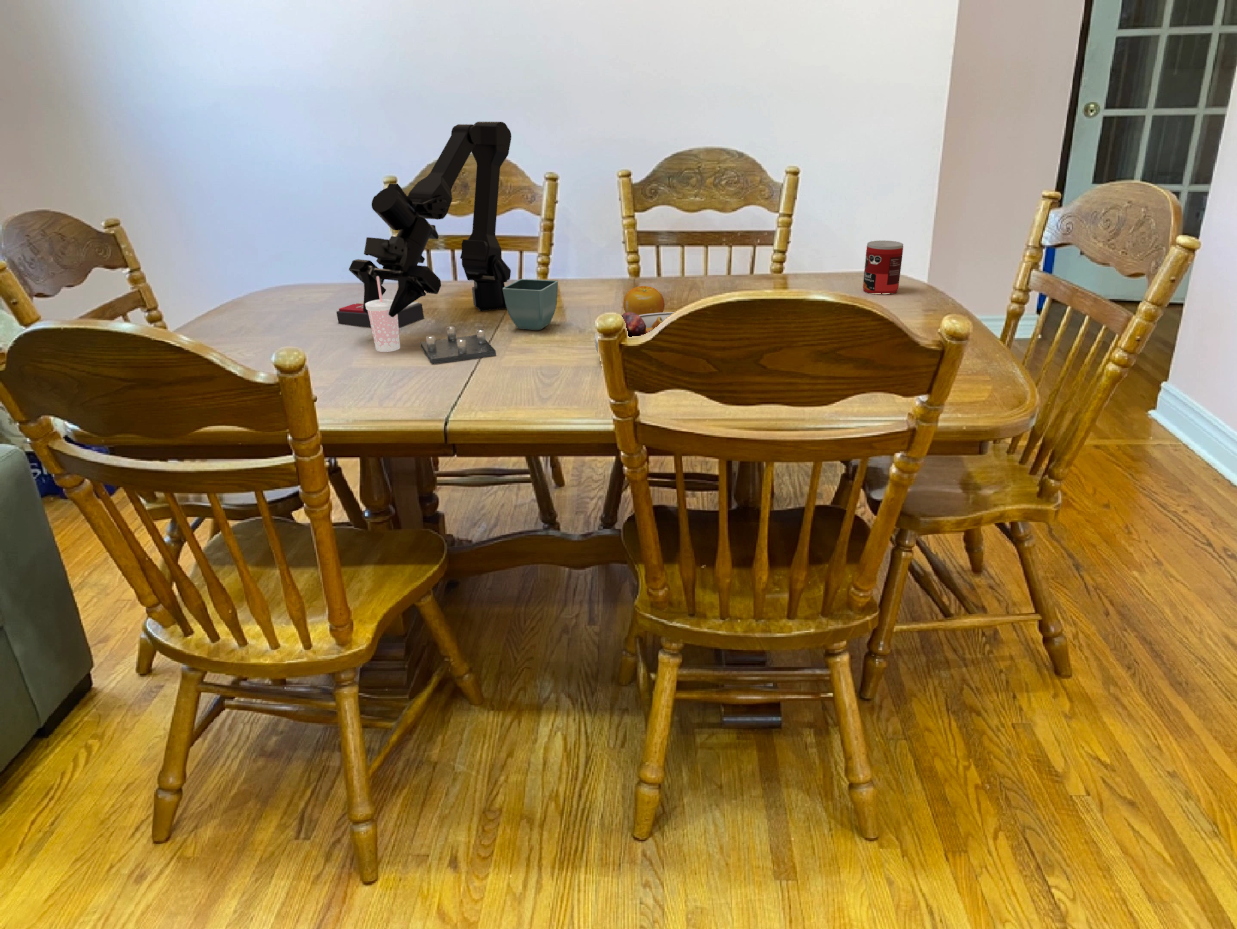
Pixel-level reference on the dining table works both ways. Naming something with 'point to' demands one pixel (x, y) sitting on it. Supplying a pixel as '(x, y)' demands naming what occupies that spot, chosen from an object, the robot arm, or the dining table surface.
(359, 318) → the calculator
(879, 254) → the canned food
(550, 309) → the flower pot
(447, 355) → the chassis plate
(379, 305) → the beverage cup
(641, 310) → the fruit
